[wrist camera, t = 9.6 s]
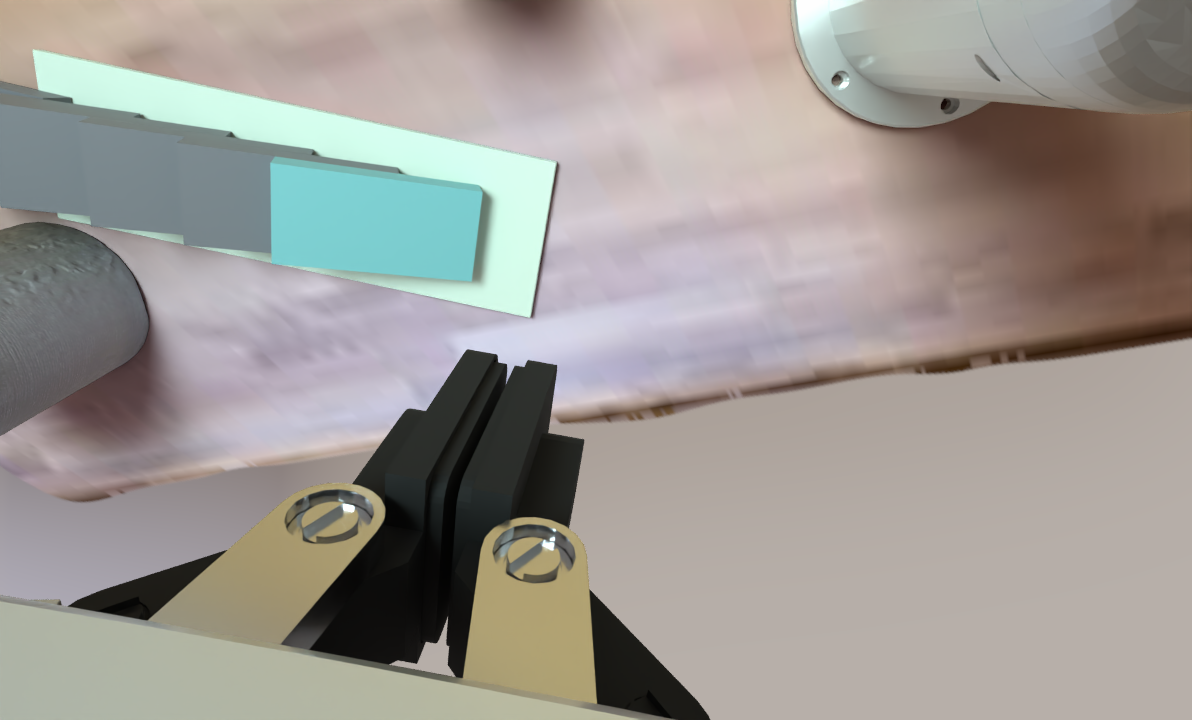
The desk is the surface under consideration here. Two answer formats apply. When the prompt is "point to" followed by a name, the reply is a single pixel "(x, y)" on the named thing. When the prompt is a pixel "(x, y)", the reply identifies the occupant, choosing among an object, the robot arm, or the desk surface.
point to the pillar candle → (61, 317)
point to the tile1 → (372, 221)
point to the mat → (504, 177)
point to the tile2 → (233, 192)
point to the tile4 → (52, 155)
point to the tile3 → (140, 173)
